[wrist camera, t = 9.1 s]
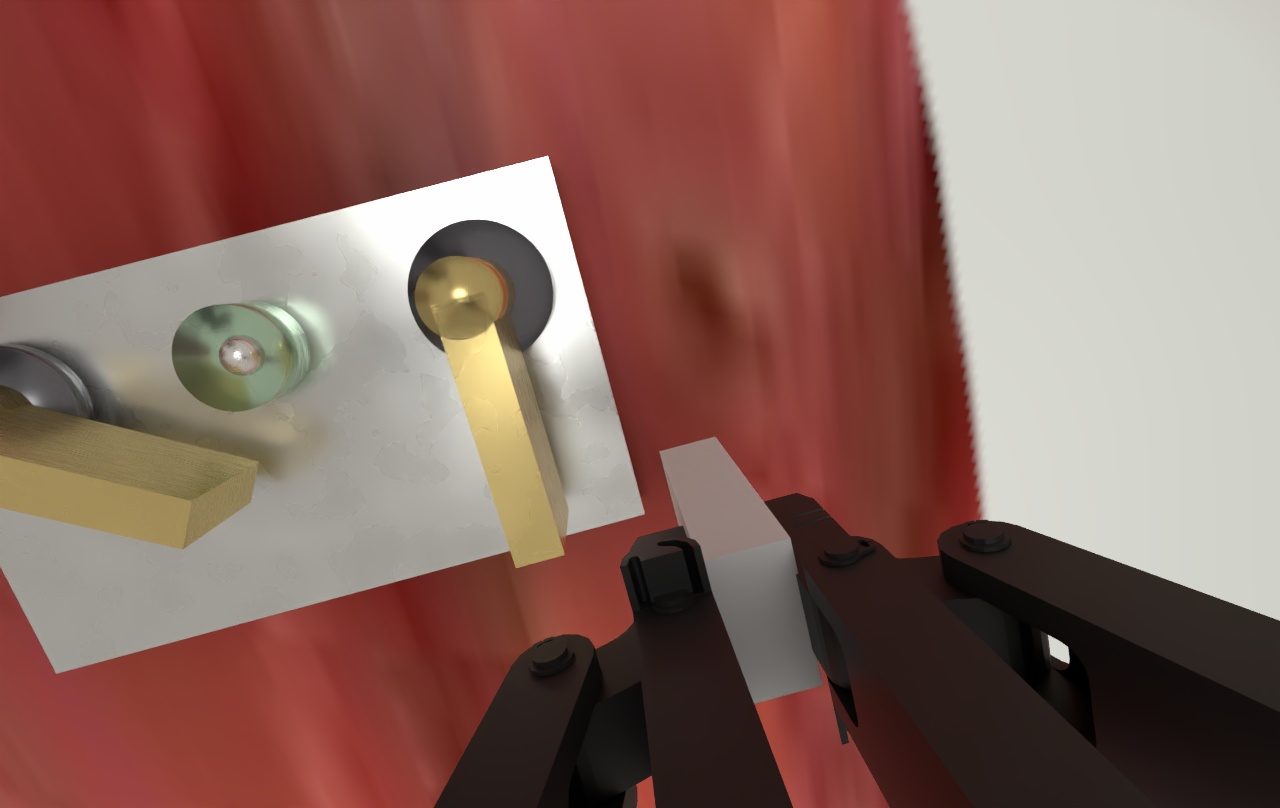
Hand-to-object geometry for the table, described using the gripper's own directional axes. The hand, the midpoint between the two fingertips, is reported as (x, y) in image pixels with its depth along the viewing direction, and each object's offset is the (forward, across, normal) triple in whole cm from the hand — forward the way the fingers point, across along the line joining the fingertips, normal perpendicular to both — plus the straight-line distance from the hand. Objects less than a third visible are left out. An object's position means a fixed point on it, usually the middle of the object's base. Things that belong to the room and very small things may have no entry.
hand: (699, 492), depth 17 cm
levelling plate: (+11, -14, +4) cm, 18 cm away
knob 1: (+8, -20, +5) cm, 22 cm away
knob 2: (+8, -5, +3) cm, 10 cm away
